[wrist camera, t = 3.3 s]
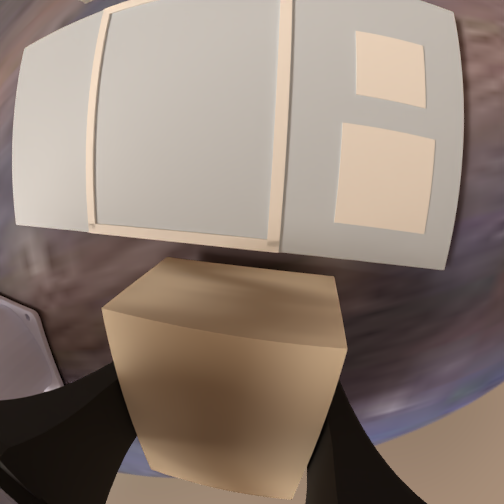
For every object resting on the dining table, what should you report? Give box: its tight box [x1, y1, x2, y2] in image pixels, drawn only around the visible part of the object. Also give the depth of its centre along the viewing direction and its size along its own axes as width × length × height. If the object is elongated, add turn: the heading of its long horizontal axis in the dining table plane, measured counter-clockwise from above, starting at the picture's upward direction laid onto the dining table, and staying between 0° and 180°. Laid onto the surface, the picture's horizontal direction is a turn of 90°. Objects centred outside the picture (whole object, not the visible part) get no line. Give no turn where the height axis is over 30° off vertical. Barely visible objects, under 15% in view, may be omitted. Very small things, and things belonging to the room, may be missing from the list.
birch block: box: [102, 257, 347, 500], centre depth 9 cm, size 6×8×4 cm
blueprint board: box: [12, 0, 464, 270], centre depth 9 cm, size 20×10×1 cm, turn 87°
